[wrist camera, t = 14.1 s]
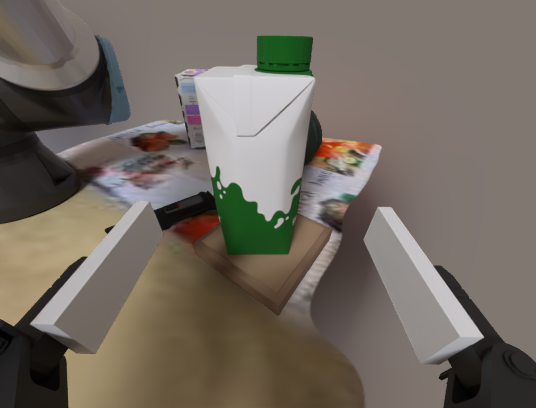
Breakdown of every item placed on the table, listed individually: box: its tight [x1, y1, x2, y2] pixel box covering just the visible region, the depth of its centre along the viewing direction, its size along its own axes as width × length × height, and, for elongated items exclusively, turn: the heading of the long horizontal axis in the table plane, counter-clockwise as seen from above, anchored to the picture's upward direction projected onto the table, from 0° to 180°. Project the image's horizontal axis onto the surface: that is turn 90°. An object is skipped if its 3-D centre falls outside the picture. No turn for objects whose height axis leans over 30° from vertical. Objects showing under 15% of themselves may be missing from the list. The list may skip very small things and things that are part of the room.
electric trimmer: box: [105, 191, 217, 234], centre depth 31 cm, size 4×16×3 cm, turn 127°
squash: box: [304, 110, 322, 165], centre depth 45 cm, size 14×15×15 cm
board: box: [193, 213, 332, 315], centre depth 28 cm, size 13×13×2 cm
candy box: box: [175, 69, 209, 148], centre depth 54 cm, size 14×6×16 cm, turn 5°
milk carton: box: [193, 36, 316, 255], centre depth 21 cm, size 9×9×20 cm
